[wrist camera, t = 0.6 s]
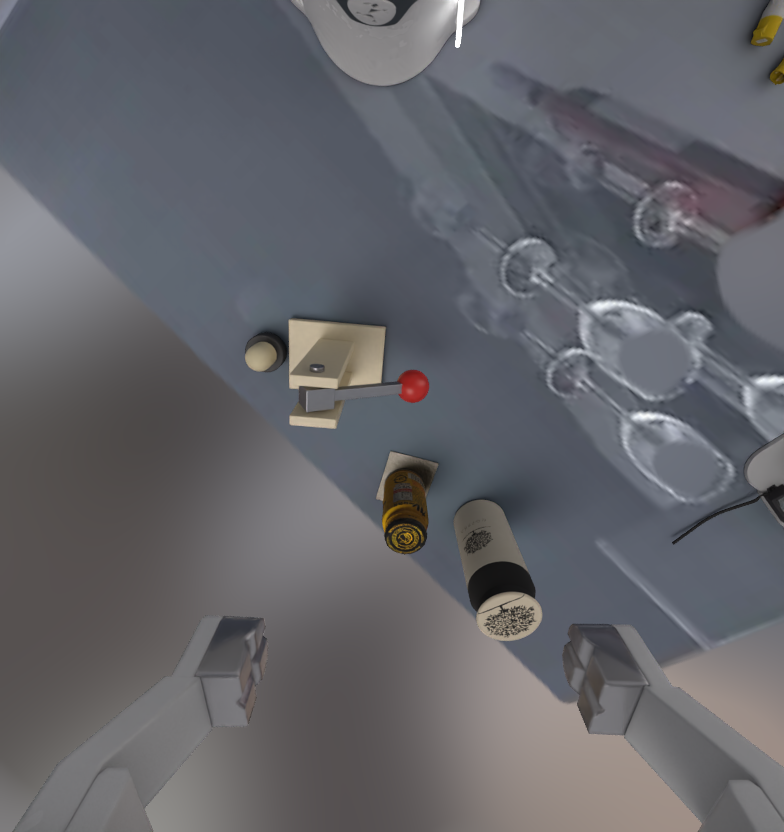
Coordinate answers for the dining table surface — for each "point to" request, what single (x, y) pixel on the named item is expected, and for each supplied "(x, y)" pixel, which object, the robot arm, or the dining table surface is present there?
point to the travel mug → (495, 572)
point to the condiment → (405, 501)
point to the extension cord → (770, 33)
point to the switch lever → (365, 391)
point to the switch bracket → (332, 362)
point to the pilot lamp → (265, 352)
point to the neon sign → (763, 480)
